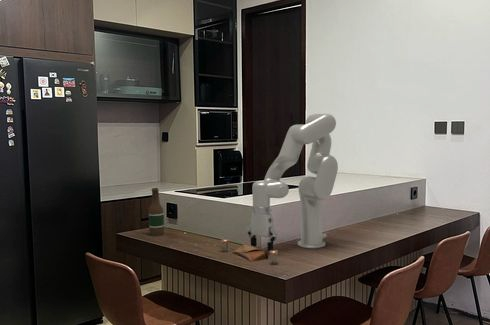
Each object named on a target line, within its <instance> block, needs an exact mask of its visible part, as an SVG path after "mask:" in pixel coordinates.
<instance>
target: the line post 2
mask: <svg viewBox="0 0 490 325" xmlns="http://www.w3.org/2000/svg"><path fill="white" fill-rule="evenodd" d="M278 254H279V253H278V250H277V249H273V250H270V251H269V264H270V265H278V263H279V262H278Z"/></svg>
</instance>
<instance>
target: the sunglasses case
mask: <svg viewBox="0 0 490 325" xmlns="http://www.w3.org/2000/svg"><path fill="white" fill-rule="evenodd" d="M231 253H232V254H235V255H237V256H239V257H241V258H243V259H246V260H247V261H249V262H250V263H254V262H255V263H256V262H259V261H264V260H265V261H266V260H268V259H269V254H268V253H267V251H265V250H263V249H260V248H258V247H257V246H255V247H254V246H251V244H248V243H247V242H244V244H242V245H241V246H240V247H238V248H236V249H235V250H233V251H232V252H231Z"/></svg>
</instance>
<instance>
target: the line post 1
mask: <svg viewBox="0 0 490 325" xmlns="http://www.w3.org/2000/svg"><path fill="white" fill-rule="evenodd" d="M220 242H221V252H222V253H228V252H229V242H230V240H229V239H228V238H222V239H220Z"/></svg>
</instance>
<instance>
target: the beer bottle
mask: <svg viewBox="0 0 490 325" xmlns="http://www.w3.org/2000/svg"><path fill="white" fill-rule="evenodd" d="M164 214H165V213H164V208H163V206H162V205H161V202H160V194H159V188H158V187H153V188H151V204H150V205H149V208H148V226H149V228H148V229H149V235H150V236H151V237H160V236H163V235H164V234H165V215H164Z"/></svg>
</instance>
